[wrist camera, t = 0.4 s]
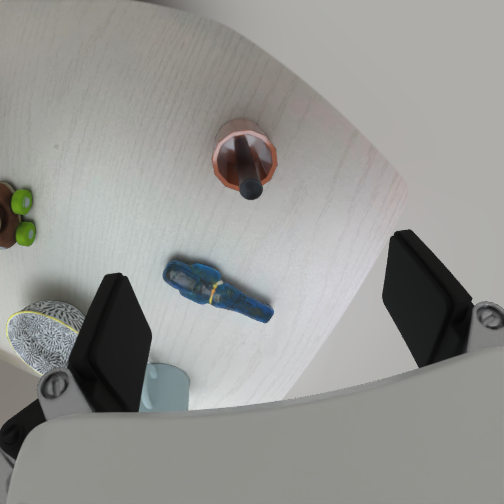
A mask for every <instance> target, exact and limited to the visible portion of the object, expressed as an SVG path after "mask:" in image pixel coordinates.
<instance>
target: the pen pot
mask: <svg viewBox="0 0 504 504" xmlns="http://www.w3.org/2000/svg"><path fill="white" fill-rule="evenodd" d="M238 138H244V139H246V140H247V142H248V145H249V148H250V151H251V154H252V157H253V160H254V163H255V166H256V169H257V172H258V175H259V177H260V180H261V183H262V186H263V185H264V184H265V183H267V182H268V181H270V179H271V178H272V176H273V174H274V172H275V169H276V167H277V155H276V149H275V147H274V145H273V144H272V142H271V141H270V139H269V138H268V137H267V135H266V134H265V132H264V131H263V130H262V128H261V127H260V126H259V125H258V124H257V123H255V122H253V121H251V120H248V119H235V120H232V121H229V122H227V123H226V124H224V125H223V126H222V127H221V128H220V129H219V131H218V133H217V136H216V139H215V141H214V147H213V154H212V163H213V168H214V174H215V175H216V176H217V178H218V179H219V180H220V181H221V182H222V183H223V184H224V185H225V186H226V187H228V188H231V189H234V190H237V191H240V189H239V179H238V171H237V164H236V156H235V148H234V142H235V140H236V139H238Z"/></svg>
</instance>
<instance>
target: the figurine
mask: <svg viewBox="0 0 504 504" xmlns="http://www.w3.org/2000/svg"><path fill="white" fill-rule="evenodd" d="M163 279H164V281H165V282H166V283H167V284H169V285H170V286H172V287H173V288H175V289H178V290H179V292H180V294H181V295H182V296H184V297H186V298H188V299H190V300H192V301H194V302H196V303H198V304H207V303H209V304H211V305H213V306H214V307H217V308H223V309H227V310H231V311H235V312H238V313H241V314H244V315H246V316H248V317H250V318H252V319H255V320H257V321H260V322H263V323H267V322H268V321H269V320H270V319H271V318H272V316H273V314H274V310H273V308H272V307H271V305H269V304H266V305H265V304H263V303H261V302H259V301H257V300H255V299H254V298H252V297H250V296H248V295H246V294H245V293H243V292H241V291H240V290H239V289H237V288H236V287H234V286H233V285H231V284H229V283H227V282H225V281H223V280H221V274H220V272H218V271H217V270H216V269H214V268H212V267H209V266H206V265H203V264H198V263H194V264H193V265H192V266H191V265H189V264H186V263H183V262H180V261H177V260H171V261H169V262H168V264H167V265H166V267H165V269H164V271H163Z"/></svg>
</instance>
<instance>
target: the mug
mask: <svg viewBox="0 0 504 504" xmlns="http://www.w3.org/2000/svg"><path fill="white" fill-rule="evenodd" d="M189 382H190V381H189V377H188V376H187V374H186V373H185V372H183V371H182V370H180V369H179V368H176V367H174V366H171V365H167V364H158V363H156V364H147V367H146V372H145V378H144V383H143V389H142V395H141V401H140V407H139V412H168V411H188V402H189Z"/></svg>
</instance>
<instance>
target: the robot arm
mask: <svg viewBox="0 0 504 504" xmlns="http://www.w3.org/2000/svg"><path fill="white" fill-rule="evenodd" d="M385 274H386V275H385V280H384V287H383V293H382V298H383V302H384V305H385V306H386V308H387V310H388V312H389V313H390V315H391V317H392V319H393V321H394V322H395V324H396V326H397V328H398V330H399V331H400V333H401V335H402V337H403V339H404V340H405V342H406V344H407V346H408V348H409V350H410V352H411V354H412V356H413V357H414V359H415V361H416V363H417V365H418V367H419V368H418V369H415V370H412V371H409V372H406V373H402V374H398V375H395V376H392V377H388V378H384V379H381V380H377V381H374V382H369V383H365V384H361V385H357V386H353V387H349V388H344V389H340V390H335V391H331V392H326V393H321V394H316V395H311V396H305V397H300V398H295V399H288V400H282V401H275V402H269V403H261V404H254V405H246V406H237V407H227V408H217V409H204V410H190V411H168V412H139V407H140V401H141V395H142V389H143V383H144V378H145V372H146V367H147V361H148V356H149V351H150V346H151V341H152V333H151V329H150V327H149V325H148V323H147V321H146V318H145V316H144V314H143V312H142V309H141V307H140V305H139V303H138V300H137V298H136V296H135V293H134V291H133V289H132V286H131V284H130V281H129V279H128V277H127V276H123V275H122V273H113V274H107V275H105V276H104V278H103V280H102V282H101V284H100V286H99V288H98V291H97V293H96V295H95V297H94V299H93V301H92V304H91V306H90V308H89V310H88V313H87V315H86V317H85V319H84V322H83V324H82V326H81V329H80V331H79V333H78V336H77V338H76V341H75V343H74V346H73V348H72V351H71V353H70V356H69V358H68V362H69V363H68V366H67V368H65V367H56V368H53V369H51V370H49V371H47V372H46V373H45V374H44V375H43V376H42V377H41V379H40V381H39V383H38V385H37V395H38V399H36V400H35V401H34V402H32V403H31V404H30V405H28V406H27V407H26V408H24V409H23V410H21V411H20V412H19V413H17V414H16V415H15V416H13V417H12V418H11V419H9V420H8V421H7V422H6V423H5V424H4V425H3V426H2V428H1V430H0V504H504V309H503V308H502V307H500V306H499V305H498V304H495V303H493V302H487V301H484V302H480V303H477V304H476V305H475V306H474V305H473V303H472V302H471V301H472V297H471V296H470V295H469V294H468V293H467V291H466V290H465V289H464V287H463V286H462V285H461V284H460V283H459V282H458V280H456V278H455V277H454V276H453V275H452V274H451V272H450V271H449V270H448V269H447V268H446V267H445V266H444V264H443V263H442V262H441V261H440V260H439V259H438V258H437V257H436V256H435V255H434V253H433V252H432V251H431V250H430V249H429V248H428V247H427V246H426V245H425V244H424V243H423V242H422V241H421V240H420V239H419V237H418V236H417V235H416V234H415V233H414V232H413V231H412V230H410V229H408V230H401V231H396V232H395V233H394V236H391V238H390V243H389V251H388V259H387V267H386V273H385Z"/></svg>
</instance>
